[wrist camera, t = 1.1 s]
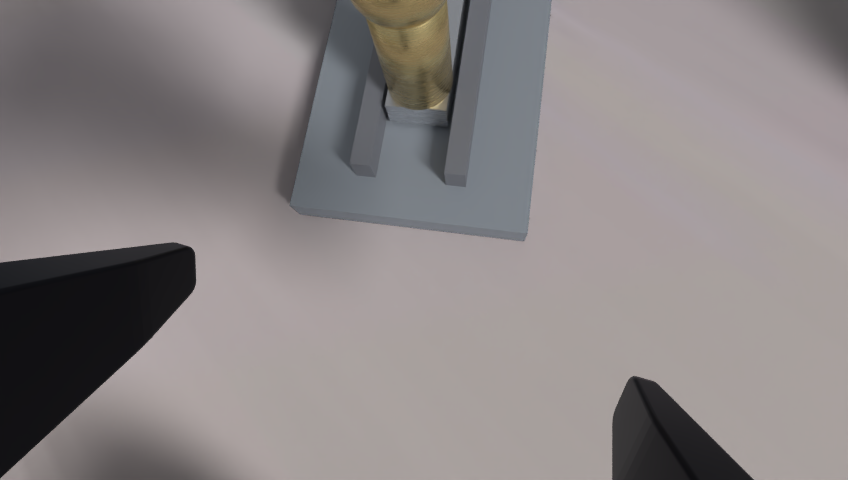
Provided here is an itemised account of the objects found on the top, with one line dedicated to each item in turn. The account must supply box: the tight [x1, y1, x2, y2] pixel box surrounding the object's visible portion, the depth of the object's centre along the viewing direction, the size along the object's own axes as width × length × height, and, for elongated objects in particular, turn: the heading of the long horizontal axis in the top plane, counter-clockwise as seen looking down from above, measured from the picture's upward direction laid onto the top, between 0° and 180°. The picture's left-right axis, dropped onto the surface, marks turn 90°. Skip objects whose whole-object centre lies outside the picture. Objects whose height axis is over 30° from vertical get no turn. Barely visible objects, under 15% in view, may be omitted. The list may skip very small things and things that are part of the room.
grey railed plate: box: [290, 0, 552, 241], centre depth 24 cm, size 21×12×5 cm, turn 172°
